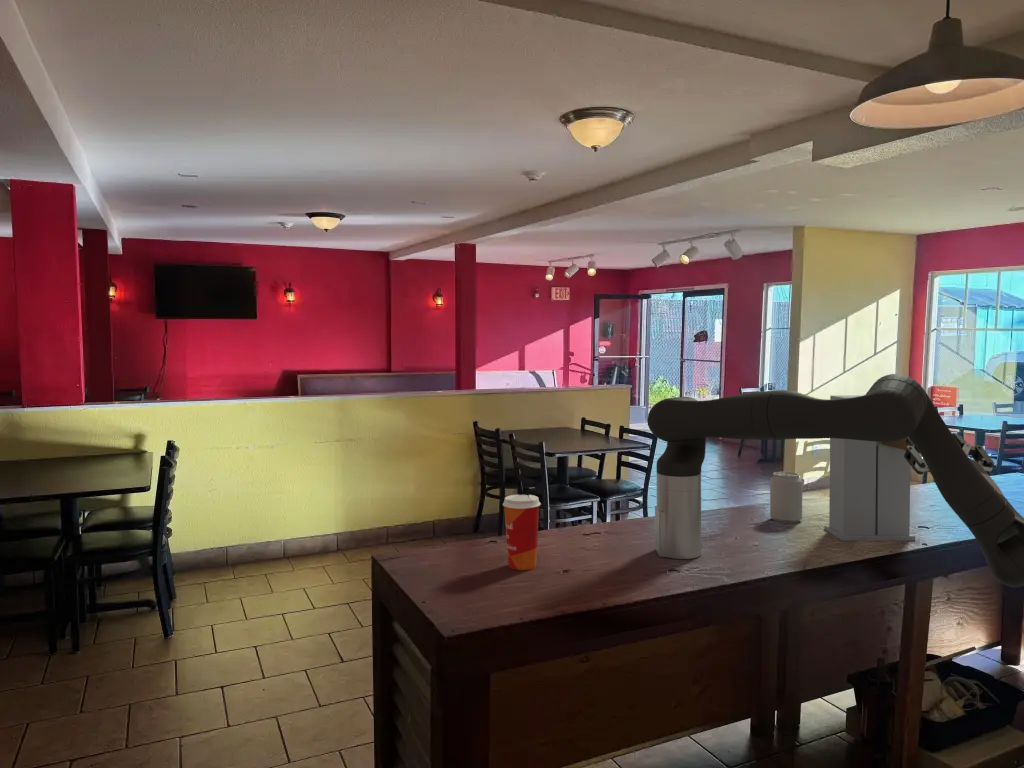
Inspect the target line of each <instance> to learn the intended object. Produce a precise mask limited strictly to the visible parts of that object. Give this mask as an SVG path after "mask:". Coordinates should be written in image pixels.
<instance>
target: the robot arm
mask: <svg viewBox="0 0 1024 768" xmlns="http://www.w3.org/2000/svg"><path fill="white" fill-rule="evenodd" d="M646 419H647V420H646V421H647V425H648V426H647V427H648V428H649V430H650V432H651V433H652V435H654V437H656V438H657V439H659V440H661V441H662V442H663V441H664V442H666V448H665V449H664V451H663V453H662V454H661V455H660V456H659V458H658V459H657V460H656V505H655V506H654V549H655V552H656V553H657V555H658V557H660V558H668V559H675V560H677V559H678V560H688V559H689V560H690V559H695V558H698V557H700V556H701V555H702V547H703V546H702V545H703V544H702V467H703V464H704V461H705V457H706V445H707V444H706V443H707V438H719V439H730V440H731V439H732V440H754V441H756V440H757V441H758V440H759V441H773V440H774V441H775V440H778V441H780V440H802V439H803V440H805V439H807V440H808V439H809V440H810V439H812V440H813V439H814V440H815V439H817V440H819V439H830V438H838V439H851V440H863V441H876V442H894V441H899V440H902V439H905V438H906V444H907V445H908V446H907V448H906V452H905V454H904V458H905V459H906V460H907V461H908V463H909V464H910V468H912V469H913V470H914V471H915V473H916V474H917V475H923V474H924V472H930V474H931V476H932V479H933V481H934V483H935V485H936V488H937V489H938V491H939V493H940V494H941V496H942V497H943V499H944V500H945V502H946V504H947V505H948V506H949V507H950V509H952V511H953V512H954V514H955V515H957V516H958V518H959V519H960V520H961V521H962V523H963V524H964V525H965V526H966V527H967V528H968V530H969V531H970V532H971V534H972V535H973V537H974V538H975V540H976V542H977V543H978V546H979V548H980V550H981V551H982V552H981V553H982V554H983V556H984V559H985V561H986V564H987V566H988V568H989V570H990V572H991V573H992V575H993V576H994V578H995V579H996V580H997V581H998V582H1000V583H1001V584H1002V585H1005V586H1008V587H1010V588H1020V587H1023V586H1024V516H1022V515H1021V514H1020V513H1019V512H1018V511H1017V510H1016V509H1015V507H1013V505H1012V504H1011V503H1010V502H1009V500H1008V499H1007V498H1006V497H1005V495H1004V494H1003V492H1002V490H1001V489H1000V486H998V484H997V482H995V480H993V478H992V477H991V476H990V475H991V473H992V471H993V468H994V466H995V462H994V460H993V459H992V457H991V456H990V455H989V453H988V452H987V450H985V448H984V447H983V446H982V445H981V444H977V445H975V446H973V445H972V444H971V443H968V442H967V441H966V440H965V439H964V437H963V436H962V435H959V433H958V432H951V430H950V429H949V427H948V425H947V424H946V423H945V420H944V419H943V418H942V416H941V415H940V413H939V411H938V410H937V408H936V407H935V405H934V402H933V401H932V400H931V398H930V397H929V395H928V393H927V392H926V390H925V389H924V388H923V386H922V385H921V383H919V382H918V381H917V380H915V379H914V378H912V377H910V376H908V375H905V374H901V373H891V374H885V375H883V376H881V377H880V378H878V379H877V380H876V381H875V382H874V383H873V384H872V386H870V388H869V389H868V391H867V392H866V393H865V394H863V396H859V397H853V398H844V399H832V400H830V399H827V398H826V399H823V398H822V399H821V398H818V397H813V396H811V395H807V394H805V393H801V392H798V391H794V390H786V389H783V390H782V389H779V390H778V389H777V390H767V391H766V390H763V391H754V392H746V393H740V394H735V395H730V396H725V397H719V398H715V399H709V400H698V399H696V398H694V397H690V396H679V397H667V398H664V399H662V400H659V401H658V402H656V403H655V404H654V405H653V406H652V407H651V408H650V410H649V412H648V415H647V418H646ZM969 456H971V457H972V458H970V457H969Z"/></svg>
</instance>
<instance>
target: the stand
mask: <svg viewBox="0 0 1024 768" xmlns="http://www.w3.org/2000/svg"><path fill="white" fill-rule="evenodd" d="M863 395H864V394H863ZM863 395H861V394H857V395H855V394H853V395H852V394H851V395H849V394H848V395H846V394H845V395H843V394H842V395H838V394H837V395H830V397H829V400H832V399H844V398H853V397H859V396H863ZM905 452H906V451H905V450H902V449H898V448H894V447H891V446H887V445H884V444H876V441H863V440H851V439H838V438H829V501H828V502H829V506H828V507H829V512H828V513H829V516H828V519H829V520H828V521H829V523H828V524H826V525H825V524H824V531H826V532H828V533H829V534H831V535H833V536H834V537H835V538H837V539H838V538H839V540H840V541H842V542H844V541H845V542H847V541H850V542H851V541H852V542H854V541H859V542H861V541H862V542H864V541H866V542H867V541H870V542H873V541H874V542H876V541H877V542H879V541H881V542H883V540H885V541H886V540H887V541H888V542H889V541H890V542H891V541H893V542H894V541H899V542H902V541H904V542H906V541H910V542H912V541H913V542H914V541H916V535H914V534H912V533H910V526H911V525H910V524H911V522H910V521H911V520H910V519H911V513H910V512H911V511H910V510H911V508H910V507H911V465H910V464H909V463H908V461H907V460H906V459H905V458H904V454H905ZM885 541H884V542H885Z"/></svg>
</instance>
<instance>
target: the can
mask: <svg viewBox="0 0 1024 768" xmlns="http://www.w3.org/2000/svg"><path fill="white" fill-rule="evenodd" d="M772 475H773V476H772V477H771V478H769V481H770V482H769V484H770V485H769V487H770V488H769V489H770V490H769V495H770V496H769V503H770V504H769V513H770V514H769V517H770V518H771V519H772V520H773V521H775V522H777V523H782V524H797V523H799V522H800V521H801V520H802V518H803V480H802V478H801V477H800V474H799V473H798V472H793V471H774V472H773V473H772Z"/></svg>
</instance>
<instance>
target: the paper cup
mask: <svg viewBox="0 0 1024 768" xmlns="http://www.w3.org/2000/svg"><path fill="white" fill-rule="evenodd" d="M541 505H542V503H541V502H540V500H539V497H538V496H536V495H534V494H528V495H527V494H511V495H507V496H505V497H504V501H503V503H502V506H503V509H504V519H505V520H504V522H505V523H504V524H505V534H506V535H505V537H506V538H505V539H506V549H507V562H508V567H509V569H511V570H515V571H529V570H533V569H535V568H536V567H537V558H538V544H539V543H538V542H539V537H538V536H539V519H540V518H539V513H540V506H541Z"/></svg>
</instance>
